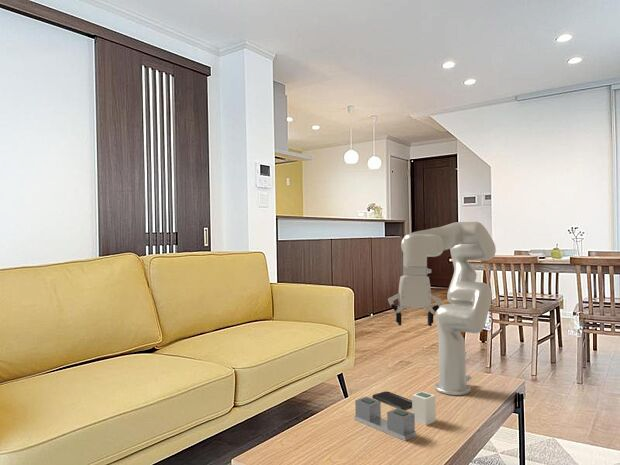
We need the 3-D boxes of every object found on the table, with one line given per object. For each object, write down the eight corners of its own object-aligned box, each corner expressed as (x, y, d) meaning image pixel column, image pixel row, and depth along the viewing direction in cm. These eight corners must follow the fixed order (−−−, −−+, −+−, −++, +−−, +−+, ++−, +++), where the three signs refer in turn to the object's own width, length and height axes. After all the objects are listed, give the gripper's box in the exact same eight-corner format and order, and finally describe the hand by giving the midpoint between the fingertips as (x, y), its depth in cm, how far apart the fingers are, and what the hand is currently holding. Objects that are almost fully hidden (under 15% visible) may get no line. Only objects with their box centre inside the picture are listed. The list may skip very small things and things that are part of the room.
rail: (365, 415, 149) (365, 395, 149) (416, 435, 134) (415, 413, 134) (354, 419, 146) (354, 399, 146) (405, 441, 131) (404, 418, 131)
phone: (386, 390, 170) (418, 402, 157) (386, 394, 170) (418, 406, 157) (370, 395, 165) (401, 408, 153) (370, 398, 165) (401, 411, 153)
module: (422, 416, 148) (421, 390, 148) (435, 421, 144) (435, 394, 144) (412, 420, 145) (412, 394, 145) (425, 425, 141) (425, 398, 141)
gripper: (439, 272, 154) (439, 323, 154) (386, 271, 155) (386, 322, 154) (444, 273, 147) (444, 327, 146) (389, 272, 147) (389, 326, 147)
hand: (414, 325), depth 150 cm, fingers open, 9 cm apart
